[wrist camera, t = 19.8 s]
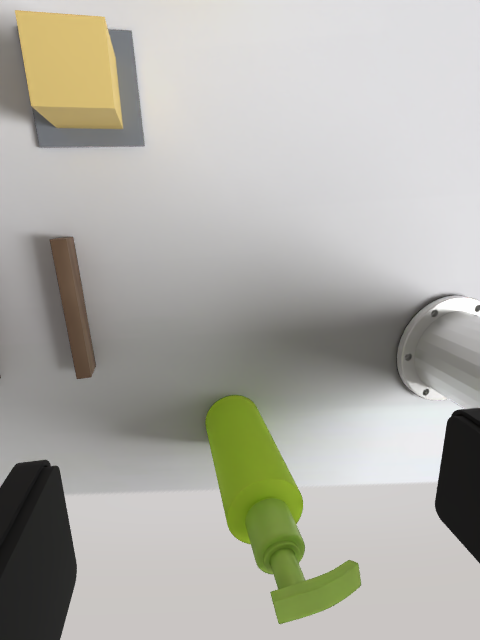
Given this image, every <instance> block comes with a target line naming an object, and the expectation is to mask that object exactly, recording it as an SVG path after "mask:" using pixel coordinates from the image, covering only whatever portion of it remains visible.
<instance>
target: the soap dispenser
mask: <svg viewBox="0 0 480 640" xmlns="http://www.w3.org/2000/svg"><path fill="white" fill-rule="evenodd" d="M205 425H206V430H207V435H208V439H209V444H210V448H211V453H212V457H213V462H214V466H215V471H216V475H217V480H218V484H219V489H220V493H221V497H222V501H223V507H224V510H225V516H226V520H227V524H228V527H229V530H230V532H231V533H232V534H233V535H234V537H236V538H237V539H238V540H240V541H242V542H244V543H248V544H251V546H252V550H253V553H254V557H255V560H256V563H257V565H258V567H259V568H260V569H261V570H262V571H263V572H265V573H268V574H274V577H275V580H276V583H277V586H278V590H275V591H272V592H271V596H272V601H273V604H274V608H275V612H276V616H277V619H278V623H279V624H282V623H285V622H289V621H293V620H296V619H300V618H303V617H306V616H309V615H312V614H315V613H318V612H320V611H323V610H325V609H328V608H330V607H332V606H334V605H335V604H337V603H339V602H340V601H342V600H343V599H345V598H346V597H348V596H349V595H351V593H353V592H354V591H356V589H358V588H359V587H360V586H361V579H360V572H359V566H358V563H356V562H354V561H351V560H348V561H347V562H345V563H343V564H342V565H340V566H339V567H337V568H335V569H334V570H332V571H330V572H328V573H325V574H323V575H320V576H318V577H315V578H312V579H309V580H306V581H305V578H304V576H303V573H302V571H301V568H300V566H299V562H300V561H301V559H302V557H303V555H304V551H305V545H304V542H303V539H302V537H301V535H300V532H299V530H298V528H297V525H296V524H297V522H298V521H299V519H300V517H301V514H302V510H303V500H302V496H301V493H300V491H299V489H298V487H297V485H296V483H295V481H294V480H293V478H292V476H291V474H290V472H289V470H288V468H287V466H286V464H285V462H284V460H283V458H282V456H281V454H280V452H279V450H278V448H277V446H276V444H275V442H274V440H273V438H272V436H271V434H270V433H269V431H268V429H267V427H266V425H265V423H264V421H263V419H262V417H261V415H260V413H259V411H258V409H257V407H256V405H255V404H254V403H253V402H252V401H251V400H250V399H248V398H246V397H243V396H239V395H232V396H227V397H224V398H222V399H220V400H218V401H217V402H216V403H214V404H213V405H212V407H211V408H210V409H209V411H208V413H207V416H206V421H205Z"/></svg>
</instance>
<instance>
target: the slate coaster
mask: <svg viewBox="0 0 480 640" xmlns="http://www.w3.org/2000/svg"><path fill="white" fill-rule="evenodd" d="M17 29H18V26H17ZM108 32H109V35H110V39H111V43H112V46H113V50H114V54H115V57H116V67H117V76H118V85H119V95H120V104H121V113H122V123H123V129H85V128H56V127H55V126H54V125H53V124H51V123H50V122H49V121H48V120H47V119H46V118H44V117H43V116H42V115H41V114H40V113H39V112H37V111H36V110H35V109H34V108H33V107H32V108H33V114H34V119H35V124H36V130H37V135H38V140H39V146H40V147H41V148H65V147H133V146H145V145H144V136H143V127H142V118H141V110H140V101H139V92H138V83H137V74H136V65H135V56H134V47H133V39H132V31H129V30H108ZM18 34H19V31H18ZM19 39H20V37H19ZM20 45H21V43H20ZM21 50H22V49H21Z"/></svg>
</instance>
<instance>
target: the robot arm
mask: <svg viewBox="0 0 480 640" xmlns="http://www.w3.org/2000/svg"><path fill="white" fill-rule="evenodd" d="M397 367H398V371H399V375H400V377H401V379H402V381H403V383H404V384H405V385H406V386H407V387H408V389H410V390H411V391H412V392H414V393H415V394H416V395H418V396H420V397H422V398H424V399H428V400H435V401H441V400H447V399H449V400H451V401H452V402H454V403H456V404H457V405H459V406H460V407H462V408H464V409H462V410H456V411H454V412H453V414H452V416H451V417H450V418H449V419H448V421H447V427H446V433H445V440H444V446H443V453H442V460H441V466H440V473H439V480H438V487H437V493H436V500H435V508H436V512H437V514H438V516H439V518H440V519H441V520H442V522H443V523H444V524H445V525H446V526H447V527H448V528H449V529H450V530H451V532H452V533H453V534H454V535H455V536H456V537H457V538H458V539H459V541H460V542H461V543H462V544H463V545H464V546H465V547H466V548H467V550H468V551H469V552H470V553H471V554H472V555H473V556H474V557H475V558H476V560H477V561H478V562H479V563H480V301H478V300H476V299H473V298H469V297H466V296H458V295H455V296H447V297H444V298H440V299H437V300H436V301H434V302H432V303H430V304H428V305H427V306H425V307H424V308H423V309H422V310H420V311H419V312H418V313H417V314H416V315H415V316H414V317H413V319H412V320H411V321H410V323H409V324H408V326H407V327H406V329H405V331H404V333H403V335H402V337H401V340H400V343H399V346H398V353H397ZM76 573H77V564H76V558H75V553H74V547H73V541H72V536H71V530H70V525H69V519H68V514H67V508H66V503H65V497H64V492H63V486H62V480H61V475H60V470H59V468H58V466H50V463H49V461H48V460H40V461H32V462H23V463H18V464H16V465H15V466H14V467H13V469H12V470H11V472H10V473H9V475H8V476H7V478H6V479H5V481H4V483H3V484H2V486H1V487H0V640H60V638H61V634H62V630H63V627H64V623H65V619H66V616H67V612H68V608H69V604H70V601H71V597H72V593H73V590H74V586H75V581H76Z"/></svg>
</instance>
